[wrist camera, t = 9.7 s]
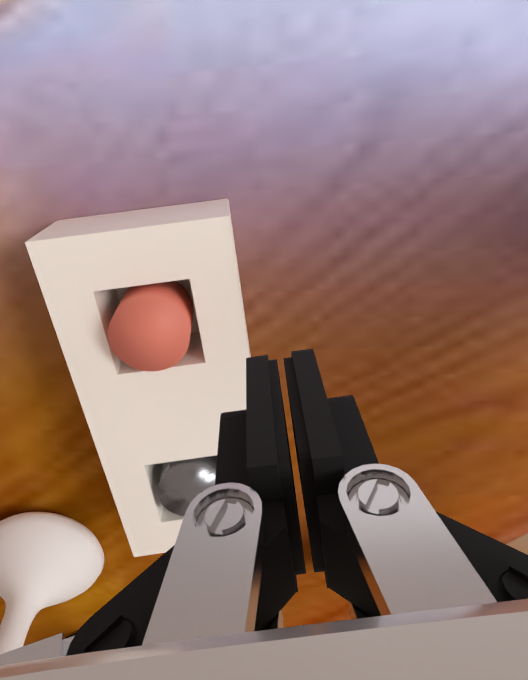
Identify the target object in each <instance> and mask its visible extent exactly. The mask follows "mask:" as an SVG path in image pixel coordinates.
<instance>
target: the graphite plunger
mask: <svg viewBox="0 0 528 680" xmlns="http://www.w3.org/2000/svg"><path fill="white" fill-rule="evenodd" d="M216 465H217V455H216V456H208V457H201V458H194V459H187V460H180V461H173V462H166V463H162V469H161V475H160V481H159V487H158V498H159V500H160V502H161V504H162V505H163V506H164V507H165V508H166V509H167V510H168V511H170V512H172V513H174V514H177V515H180V516H184V515H185V512H186V510H187V508H188V506H189V504H190V502H191V501H192V500H193V499H194V498H195V497H196V496H197V495H198V494H200V493H201V492H203V491H204V490H206V489H207V488H210V487H212V486H215V478H216Z"/></svg>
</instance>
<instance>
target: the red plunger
mask: <svg viewBox="0 0 528 680" xmlns="http://www.w3.org/2000/svg"><path fill="white" fill-rule="evenodd" d="M193 313H194V307H193V302H192V299H191V297H190V295H189V293H188V292H187V290H186V289H185V288H184V287H183V286H182V285H181V284H180V283H178V282H177V281H170V282H162V283H154V284H147V285H139V286H132V287H129V288H128V289H127V291H126V292H125V294H124V296H123V298H122V300H121V302H120V303H119V305H118V307H117V309H116V311H115V313H114V315H113V317H112V319H111V321H110V323H109V328H108V338H109V342H110V345H111V347H112V349H113V351H114V353H115V354H116V355H117V356H118V357H119V359H121V360H122V361H123V362H124V363H126V364H127V365H129V366H131V367H133V368H136V369H139V370H142V371H161V370H165V369H168V368H170V367H172V366H174V365H175V364H177V363H178V362H179V361H180V360H181V359H182V358H183V357H184V355H185V354H186V352H187V350H188V346H189V342H190V335H191V328H192V321H193Z"/></svg>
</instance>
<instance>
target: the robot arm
mask: <svg viewBox="0 0 528 680" xmlns="http://www.w3.org/2000/svg"><path fill="white" fill-rule="evenodd" d="M291 354H292V357H290V358H284V365H285V372H286V380H287V387H288V395H289V402H290V409H291V417H292V424H293V432H294V439H295V446H296V453H297V460H298V467H299V473H300V480H301V487H302V493H303V500H304V507H305V513H306V520H307V527H308V533H309V540H310V547H311V553H312V560H313V567H314V572H321V571H324V572H325V578H326V584H327V588H330V589H332V590H333V591H335V592H336V593H337V594H339V595H340V596H342V597H343V598H345V599H346V600H347V601H348V607H349V612H350V615H351V618H352V620H343V621H335V622H327V623H319V624H310V625H302V626H294V627H286V628H283V613H282V608H283V607H284V606H285V604H286V603H287V602H288V601H289V600H290V598H291V597H292V596H293V595H294V594H295V593H296V592H298V588H297V579H296V575H297V574H305V573H306V570H305V562H304V554H303V547H302V539H301V532H300V524H299V516H298V509H297V501H296V494H295V486H294V479H293V471H292V463H291V456H290V449H289V441H288V434H287V427H286V420H285V413H284V406H283V400H282V393H281V386H280V379H279V372H278V365H277V359H276V360H268V355H264V356H256V357H249V358H246V410H239V411H231V412H224V413H221V416H220V427H219V439H218V452H217V465H216V478H215V486H212V487H210V488H207V489H206V490H204V491H203V492H201V493H200V494H198V495H197V496H196V497H195V498H194V499H193V500H192V501H191V502H190V504H189V506H188V508H187V510H186V512H185V515H184V518H183V521H182V524H181V528H180V531H179V534H178V537H177V540H176V543H175V545H174V546H173V547H171V548H170V549H169V550H168V551H167V552H166V553H165V554H163V555H162V556H161V557H160V558H159V559H158V560H156V561H155V562H154V563H153V564H152V565H151V566H149V567H148V568H147V569H146V570H145V571H144V572H143V573H141V574H140V575H139V576H138V577H137V578H136V579H134V580H133V581H132V582H131V583H130V584H129V585H127V586H126V587H125V588H124V589H123V590H122V591H120V592H119V593H118V594H117V595H116V596H115V597H114V598H112V599H111V600H110V601H109V602H108V603H107V604H105V605H104V606H103V607H102V608H101V609H100V610H98V611H97V612H96V613H95V614H94V615H93V616H92V617H90V618H89V619H88V620H87V621H86V623H85V624H84V625H83V626H82V627H81V628H80V629H79V630H78V632H77V633H76V635H75V636H72V637H69V638H65V636H64V635H63V633H60V634H57V635H55V636H52V637H49V638H46V639H43V640H40V641H37V642H35V643H32V644H29V645H26V646H23V647H20V648H17V649H14V650H12V651H9V652H6V653H3V654H0V680H528V555H526V554H524V553H522V552H520V551H518V550H516V549H514V548H512V547H510V546H508V545H505V544H503V543H501V542H499V541H497V540H495V539H493V538H491V537H489V536H486V535H484V534H482V533H480V532H478V531H476V530H474V529H472V528H470V527H467V526H465V525H463V524H461V523H459V522H457V521H455V520H453V519H451V518H448V517H446V516H444V515H442V514H440V513H438V512H436V511H435V510H434V509H433V507H432V506H431V504H430V503H429V501H428V500H427V498H426V497H425V495H424V494H423V492H422V491H421V490H420V488H419V487H418V485H417V484H416V482H415V481H414V480H413V479H412V478H411V477H410V476H409V475H408V474H407V473H405V472H403V471H402V470H400V469H398V468H396V467H392V466H389V465H385V464H379V463H378V460H377V457H376V455H375V452H374V450H373V447H372V444H371V442H370V439H369V436H368V434H367V431H366V428H365V426H364V423H363V420H362V418H361V415H360V412H359V410H358V407H357V404H356V402H355V399H354V397H353V396H352V395H349V396H342V397H335V398H327V397H326V393H325V390H324V386H323V382H322V379H321V375H320V372H319V368H318V365H317V361H316V358H315V354H314V351H313V349H307V350H300V351H292V352H291Z"/></svg>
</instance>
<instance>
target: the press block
mask: <svg viewBox="0 0 528 680" xmlns="http://www.w3.org/2000/svg"><path fill="white" fill-rule="evenodd" d="M25 245H26V247H27V250H28V253H29V256H30V259H31V262H32V265H33V268H34V271H35V273H36V276H37V279H38V282H39V285H40V288H41V291H42V294H43V296H44V299H45V302H46V305H47V308H48V311H49V314H50V317H51V319H52V322H53V325H54V328H55V331H56V334H57V337H58V340H59V343H60V345H61V348H62V351H63V354H64V357H65V360H66V363H67V366H68V368H69V371H70V374H71V377H72V380H73V383H74V386H75V389H76V391H77V394H78V397H79V400H80V403H81V406H82V409H83V412H84V415H85V417H86V420H87V423H88V426H89V429H90V432H91V435H92V438H93V440H94V443H95V446H96V449H97V452H98V455H99V458H100V461H101V463H102V466H103V469H104V472H105V475H106V478H107V481H108V484H109V486H110V489H111V492H112V495H113V498H114V501H115V504H116V507H117V510H118V512H119V515H120V518H121V521H122V524H123V527H124V530H125V533H126V535H127V538H128V541H129V544H130V547H131V550H132V553H133V556H134V557H138V556H145V555H152V554H159V553H165V552H167V551H168V550H169V549H170V548H171V547H173V546H174V545H175V543H176V540H177V537H178V534H179V531H180V528H181V524H182V521H183V518H184V516H180V515H177V514H174V513H172V512H170V511H168V510H167V509H166V508H165V507H164V506H163V505H162V504H161V502H160V500H159V498H158V487H159V481H160V475H161V469H162V463H166V462H173V461H180V460H187V459H194V458H201V457H208V456H216V455H217V452H218V439H219V427H220V416H221V413H224V412H231V411H239V410H246V358H249V357H251V355H250V348H249V341H248V334H247V327H246V320H245V313H244V306H243V299H242V292H241V284H240V277H239V270H238V263H237V256H236V249H235V242H234V235H233V228H232V221H231V214H230V207H229V200H228V198H227V199H219V200H211V201H203V202H195V203H188V204H180V205H172V206H164V207H157V208H149V209H141V210H133V211H126V212H118V213H110V214H102V215H94V216H87V217H79V218H71V219H63V220H57V221H55V222H54V223H53V224H51V225H50V226H48V227H47V228H45V229H44V230H42V231H41V232H39V233H38V234H36V235H35V236H33V237H32V238H30V239H29V240H27V241H26V242H25ZM170 281H177V282H178V283H180V284H181V285H182V286H183V287H184V288H185V289H186V290H187V292H188V293H189V295H190V297H191V299H192V302H193V307H194V313H193V321H192V328H191V335H190V342H189V346H188V350H187V352H186V354H185V355H184V357H183V358H182V359H181V360H180V361H179V362H178V363H177V364H175V365H174V366H172V367H170V368H168V369H165V370H161V371H142V370H139V369H136V368H133V367H131V366H129V365H127V364H126V363H124V362H123V361H122V360H121V359H119V357H118V356H117V355H116V354H115V353H114V351H113V349H112V347H111V345H110V342H109V338H108V328H109V323H110V321H111V319H112V317H113V315H114V313H115V311H116V309H117V307H118V305H119V303H120V302H121V300H122V298H123V296H124V294H125V292H126V291H127V289H128V288H129V287H132V286H139V285H147V284H154V283H162V282H170Z"/></svg>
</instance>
